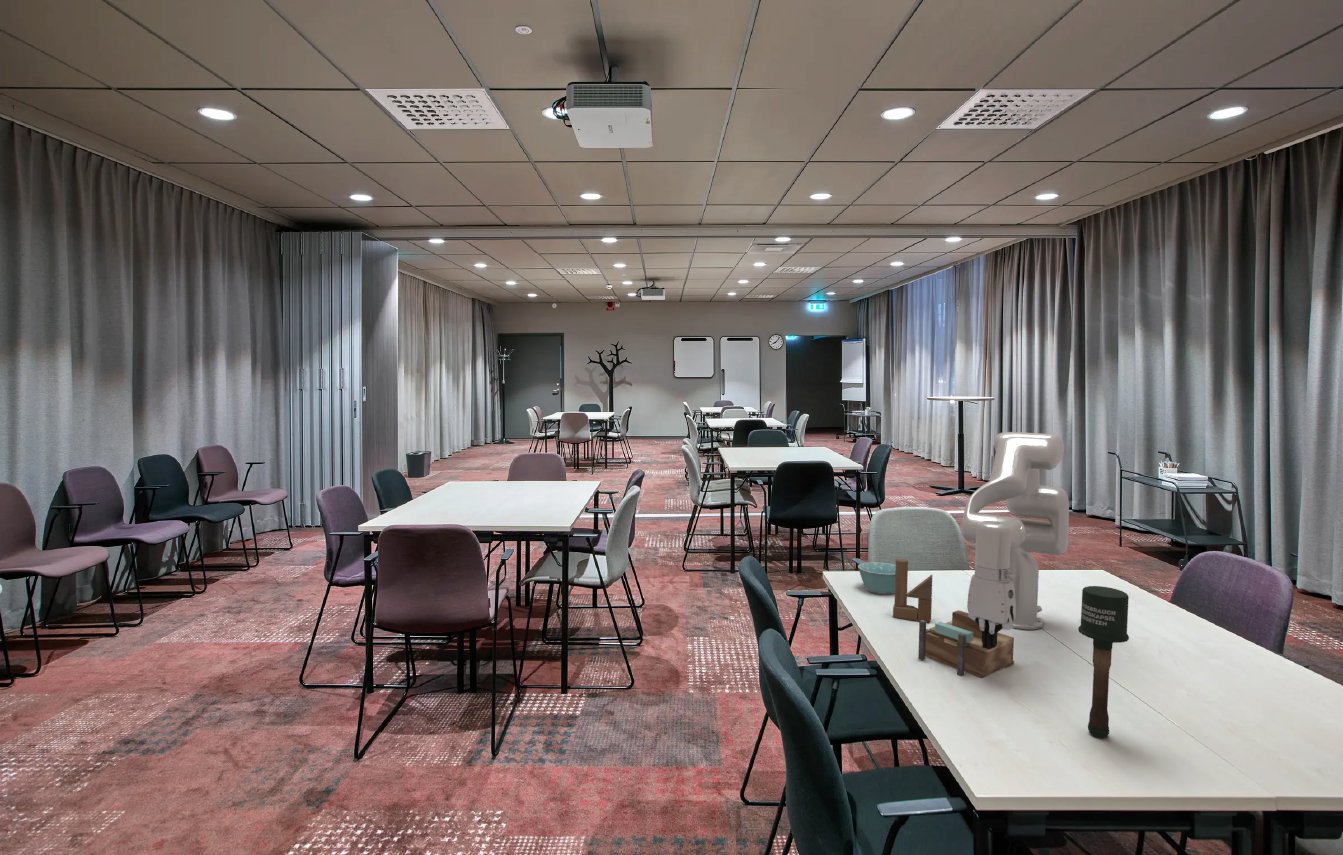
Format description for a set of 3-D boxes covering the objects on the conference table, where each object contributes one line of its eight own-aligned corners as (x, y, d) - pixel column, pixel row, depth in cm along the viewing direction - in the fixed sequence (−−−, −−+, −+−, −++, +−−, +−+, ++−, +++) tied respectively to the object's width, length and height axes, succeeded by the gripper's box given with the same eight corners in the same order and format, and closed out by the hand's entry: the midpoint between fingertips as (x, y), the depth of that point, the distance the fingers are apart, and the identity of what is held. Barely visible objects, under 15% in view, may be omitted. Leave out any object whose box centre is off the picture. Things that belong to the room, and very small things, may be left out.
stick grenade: (1064, 725, 140) (1070, 585, 138) (1102, 723, 140) (1109, 584, 138) (1093, 746, 131) (1100, 598, 129) (1134, 745, 132) (1141, 597, 130)
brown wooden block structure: (930, 623, 199) (932, 564, 197) (892, 618, 203) (894, 560, 202) (931, 619, 202) (933, 561, 201) (894, 614, 207) (895, 557, 206)
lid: (956, 627, 183) (957, 603, 182) (1013, 646, 170) (1014, 620, 169) (922, 639, 174) (923, 613, 174) (980, 660, 161) (981, 632, 161)
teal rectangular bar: (940, 629, 172) (940, 621, 172) (972, 640, 165) (973, 632, 165) (934, 631, 171) (935, 623, 171) (967, 643, 164) (967, 634, 164)
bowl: (854, 583, 239) (855, 560, 238) (899, 585, 237) (900, 562, 236) (861, 596, 224) (861, 572, 223) (909, 599, 221) (910, 574, 221)
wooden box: (956, 643, 183) (957, 607, 183) (1014, 663, 170) (1015, 625, 170) (916, 658, 173) (918, 620, 173) (974, 681, 160) (976, 640, 159)
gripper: (1031, 578, 155) (1028, 654, 156) (971, 563, 167) (968, 634, 169) (1014, 583, 151) (1011, 661, 152) (954, 568, 163) (951, 640, 164)
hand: (989, 647), depth 160 cm, fingers closed
